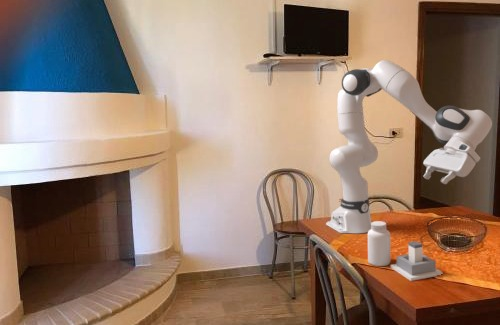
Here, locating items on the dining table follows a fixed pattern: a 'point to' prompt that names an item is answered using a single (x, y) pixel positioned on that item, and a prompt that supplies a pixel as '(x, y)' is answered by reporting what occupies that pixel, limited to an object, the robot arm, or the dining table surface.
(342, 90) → the robot arm
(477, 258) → the dining table surface
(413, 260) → the plug
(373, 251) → the pill bottle
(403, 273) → the socket
